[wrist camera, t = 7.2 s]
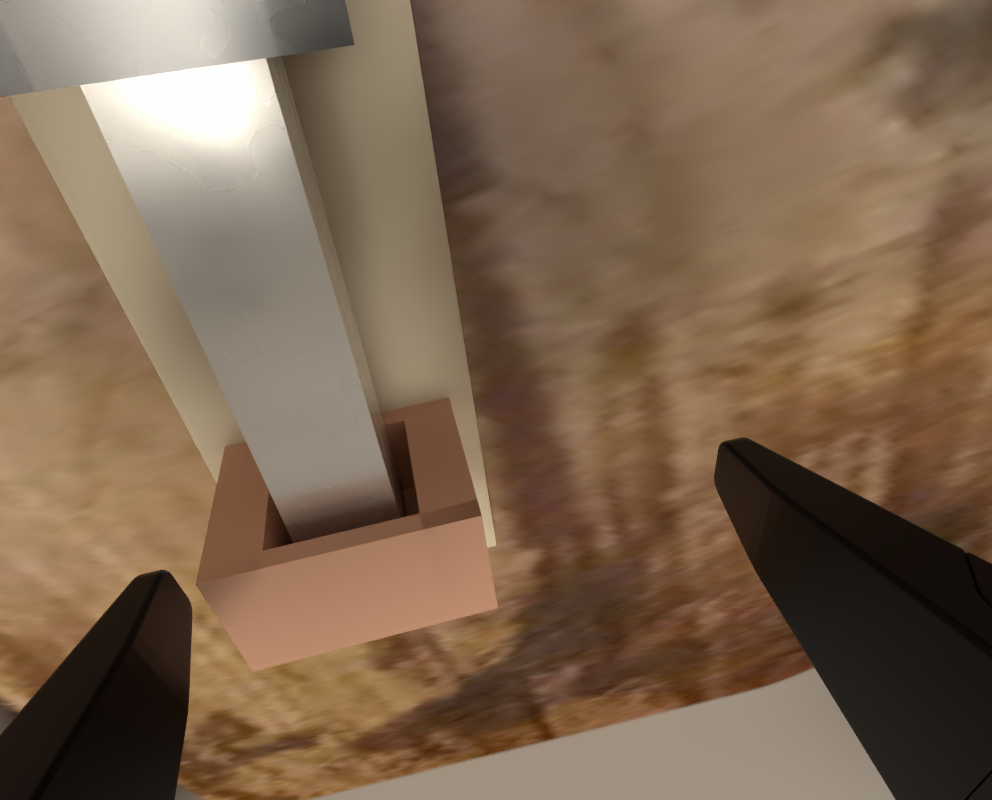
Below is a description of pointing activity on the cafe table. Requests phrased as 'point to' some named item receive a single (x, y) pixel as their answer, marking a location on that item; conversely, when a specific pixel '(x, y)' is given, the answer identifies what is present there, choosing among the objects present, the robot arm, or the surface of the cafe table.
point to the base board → (351, 217)
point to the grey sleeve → (153, 37)
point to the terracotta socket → (349, 553)
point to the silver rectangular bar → (258, 280)
